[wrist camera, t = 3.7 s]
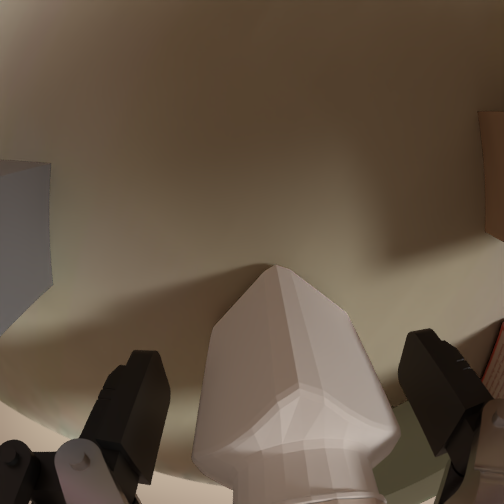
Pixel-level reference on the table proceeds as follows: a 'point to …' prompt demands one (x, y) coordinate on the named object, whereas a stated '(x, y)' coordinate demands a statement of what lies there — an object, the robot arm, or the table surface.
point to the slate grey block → (23, 237)
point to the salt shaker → (291, 401)
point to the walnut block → (493, 170)
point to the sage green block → (409, 464)
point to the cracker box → (496, 369)
